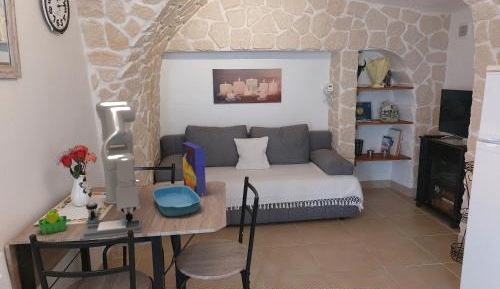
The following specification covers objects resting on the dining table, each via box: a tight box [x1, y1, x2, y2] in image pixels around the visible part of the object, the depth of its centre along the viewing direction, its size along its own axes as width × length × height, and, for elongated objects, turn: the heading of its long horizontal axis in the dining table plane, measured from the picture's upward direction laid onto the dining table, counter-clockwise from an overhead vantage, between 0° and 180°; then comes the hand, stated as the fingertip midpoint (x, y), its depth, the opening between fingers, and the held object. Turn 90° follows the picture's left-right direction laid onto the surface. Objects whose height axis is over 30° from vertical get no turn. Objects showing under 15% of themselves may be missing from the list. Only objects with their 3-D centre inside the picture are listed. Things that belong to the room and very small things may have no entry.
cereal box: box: [181, 141, 207, 198], centre depth 214 cm, size 22×6×30 cm, turn 30°
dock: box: [79, 218, 142, 241], centre depth 162 cm, size 13×26×2 cm, turn 106°
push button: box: [85, 201, 103, 225], centre depth 171 cm, size 7×5×10 cm
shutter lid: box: [97, 213, 128, 232], centre depth 161 cm, size 9×12×4 cm
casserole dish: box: [152, 185, 201, 217], centre depth 192 cm, size 37×22×7 cm, turn 25°
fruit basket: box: [38, 208, 68, 235], centre depth 162 cm, size 11×9×11 cm
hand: (129, 221), depth 164 cm, fingers closed
